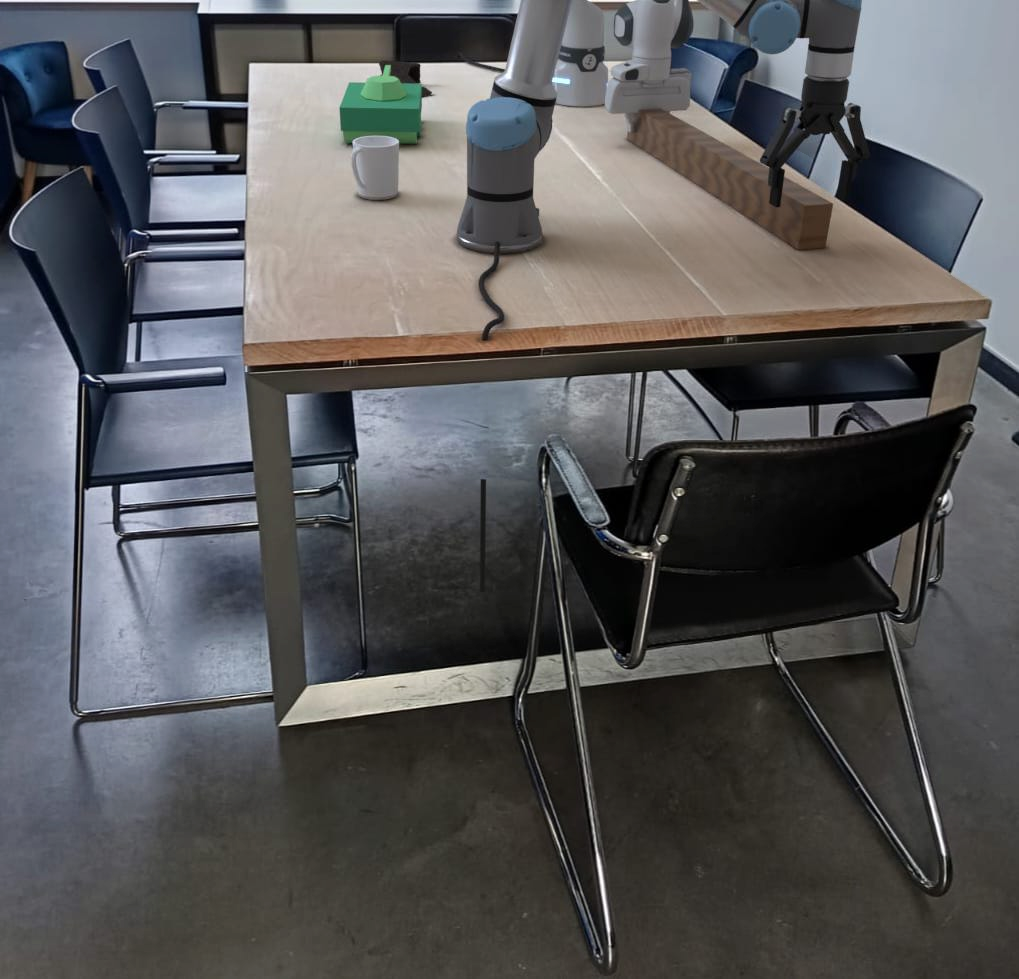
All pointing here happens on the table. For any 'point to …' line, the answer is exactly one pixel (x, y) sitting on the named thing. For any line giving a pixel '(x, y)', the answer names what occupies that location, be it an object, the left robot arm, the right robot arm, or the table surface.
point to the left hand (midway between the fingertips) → (808, 202)
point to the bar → (734, 178)
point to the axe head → (405, 72)
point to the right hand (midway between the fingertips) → (645, 131)
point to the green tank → (382, 109)
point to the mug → (376, 166)
